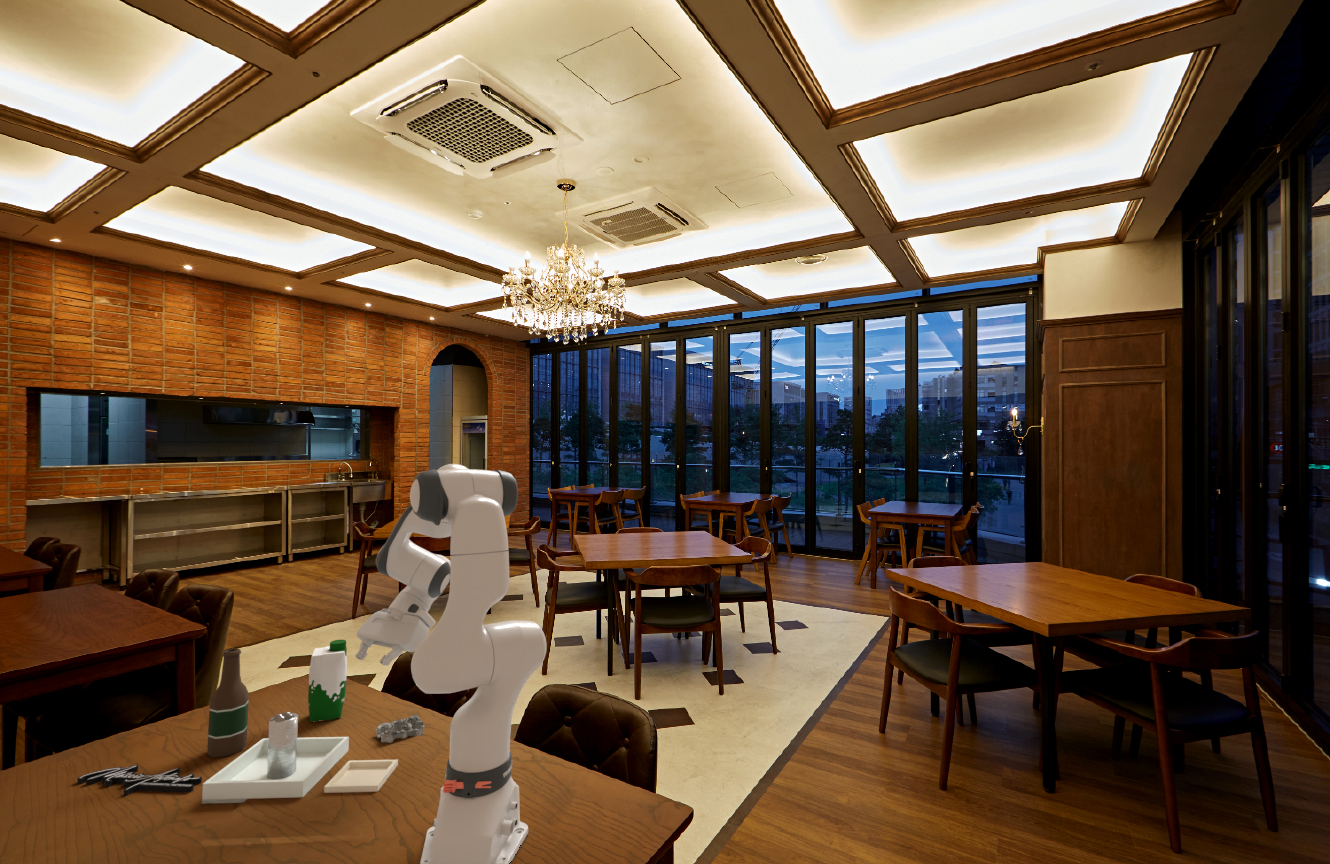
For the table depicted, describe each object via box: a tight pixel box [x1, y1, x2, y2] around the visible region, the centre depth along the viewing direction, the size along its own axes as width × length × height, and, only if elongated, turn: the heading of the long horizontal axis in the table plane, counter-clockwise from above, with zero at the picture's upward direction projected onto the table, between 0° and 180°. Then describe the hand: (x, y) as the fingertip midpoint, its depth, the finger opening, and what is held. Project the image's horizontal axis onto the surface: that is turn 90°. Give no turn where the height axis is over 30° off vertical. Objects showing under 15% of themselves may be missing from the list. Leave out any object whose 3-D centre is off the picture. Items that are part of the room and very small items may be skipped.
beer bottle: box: [207, 647, 250, 759], centre depth 144 cm, size 8×8×24 cm
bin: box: [201, 736, 350, 805], centre depth 131 cm, size 20×20×4 cm
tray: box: [323, 759, 399, 794], centre depth 130 cm, size 11×11×2 cm
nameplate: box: [76, 764, 203, 797], centre depth 128 cm, size 27×2×10 cm
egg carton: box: [375, 713, 426, 744], centre depth 151 cm, size 11×8×4 cm
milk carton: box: [307, 639, 348, 722], centre depth 163 cm, size 9×9×20 cm
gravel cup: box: [267, 710, 299, 780], centre depth 132 cm, size 6×6×13 cm
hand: (370, 661), depth 143 cm, fingers open, 8 cm apart
